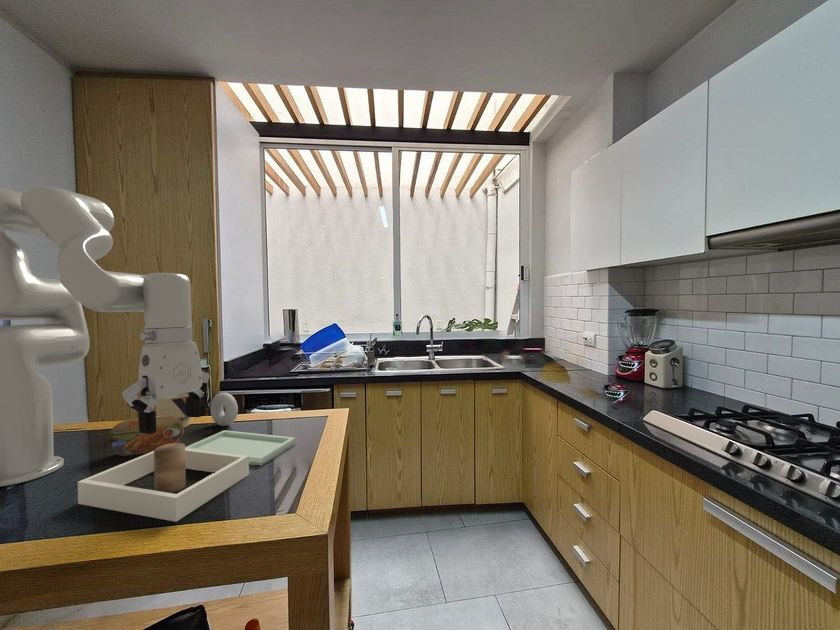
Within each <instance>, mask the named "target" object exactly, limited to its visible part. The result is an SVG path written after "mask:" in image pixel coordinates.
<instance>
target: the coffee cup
mask: <svg viewBox="0 0 840 630" xmlns="http://www.w3.org/2000/svg"><path fill="white" fill-rule="evenodd" d="M187 397H189V396H188V395H187V394H183V395H179V396H175V397H171V398H167V399H159V400H158V402H157V403H156V405H155V408H156V416H165V415H170V416H174V417H176V418H178V419H179V420H180V421H181V422H182V424H183V427H184V428H186V427H188V426H190V423H191V417H187V416H186V398H187Z"/></svg>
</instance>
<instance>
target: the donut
mask: <svg viewBox="0 0 840 630" xmlns="http://www.w3.org/2000/svg"><path fill="white" fill-rule="evenodd" d="M209 407H210V415H211V418H212V420H213V421H214V422H215V423H216V424H217V425H218V426H221V427H228V426H230V425H232V424H233V423H234V422H235V421H236V419H237V416H238V413H239V407H238V403H237V400H236V399H235V397H234V396H233V395H232V394H230V393H228V392H220V393H218V394H216V395H215V396H214V397H213V398H212V400H211V403H210V406H209Z"/></svg>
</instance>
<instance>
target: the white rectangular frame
mask: <svg viewBox="0 0 840 630" xmlns="http://www.w3.org/2000/svg"><path fill="white" fill-rule="evenodd" d="M186 469H187V470H194V471H203V472H207V473H208V472H210V473H211V474H209V475H208V476H206V477H204V478H203V479H201V480H199V481H197V482H194V484H192V485H190V486H189V487H187V488H185V489H183V490H180V491H178V492H177V493H167V492H160V491H155V489H154V490H153V489H148V488H147V489H146V488H141V487H135V486H128V485H127V484H129V483H131V482H134V481H136V480H139V479H141V478H143V477H144V476H146V475H149V474H151V473H154V451H152V452H150V453H144V454H143V455H140V456H138V457H135V458H134V459H133V458H132V459H131V460H128V461H125V462H124V463H121V464H118V465H116V466H114V467H110V468H108V469H106V470H104V471H101V472H99V473H96V474H94V475H91V476H89V477H87V478H83V479H81V480H79V481H77V504H78V505H83V506H89V507H94V508H99V509H105V510H111V511H117V512H121V513H127V514H131V515H137V516H142V517H143V516H144V517H148V518H149V517H150V518H154V519H158V520H165V521H169V522H170V521H171V522H175V523H176V522H178V521H180V520H181V519H183V518H184V517H186V516H187V515H189V514H191V513H193V512H194V511H195V510H197V509H198V508H200V507H201V506H203V505H204V504H206V503H208V502H209V501H210V500H213V498H215V497H217V496H218V495H220V494H221V493H223V492H224V491H226V490H228V489H229V488H231V487H232V486H234V485H236V484H237V483H238V482H240V481H241V480H243V479H245V478H247V476H249V474H250V465H249V456H245V455H237V454H228V453H220V452H212V451H204V450H195V449H187V448H185V470H186ZM214 472H215V473H214Z"/></svg>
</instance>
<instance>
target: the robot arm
mask: <svg viewBox="0 0 840 630" xmlns="http://www.w3.org/2000/svg"><path fill="white" fill-rule="evenodd" d="M114 224H115V217H114V213H113V212H112V210H111V209H110V207H109V206H108V205H107V204H106V203H104V202H103V201H101V200H100V199H97V198H95V197H92V196H88V195H85V194H81V193H78V192H74V191H71V190H67V189H64V188H60V187H56V186H49V185H35V186H31V187H30V188H27V189H26V190H24V192H19V191H16V190H13V189H7V188H2V187H0V320H1V321H2V320H3V321H25V320H27V321H28V320H29V321H30V320H43V322H44V323H42V324H39V323H38V324H37V323H36V324H35V323H34V324H32V323H31V324H12V325H4V326H3V325H2V326H0V488H1V487H6V486H12V485H13V486H14V485H17V484H21V483H22V484H23V483H24V482H25V483H26V482H29V481H33V480H36V479H39V478H42V477H44V476H47V475H49V474H51V473H53V472H56V471H58V470H59V469H60V468H62V467H63V466H64V463H65V460H64V458H63V457H61V456H60V455H59V456H58V455H54V451H55V450H54V410H53V409H54V407H53V406H54V405H53V401H54V399H53V397H54V396H53V388H52V384H51V383H50V381H49V380H48V378H46V377H45V376H44V375H43V373H41V372H40V370H39V369H40V368H41V369H42V368H48V367H54V366H60V365H61V366H63V365H68V364H73V363H76V362H78V361H81V360H83V359H84V358H85V357H86V356H87V355H88V353H89V351H90V345H91V343H90V341H91V340H90V334H89V329H88V325H87V321H86V317H85V313H84V308H83V306H84V307H85V308H87V309H89V310H91V311H94V312H100V313H125V312H126V313H128V312H129V313H143V320H144V321H143V323H144V332H142V333H140V334H139V338H140V340H141V341H144V344H145V345H142V348H141V351H140V357H139V364H138V375H137V376H138V380H137V381H136V382H134V383H133V384H131V385H130V386H128V387H127V388H126V389H124V390H123V391H121V396H122V397H123V399H124V401H125V403H126V404H127V407H129V408H131V409H133V412H135V413H138V414H137V419H138V422H139V432H140V433H145V434H153V433H155V432H156V416H157V411H155V410H153V409H154V408H155V407H156V403H157V402H158V400H159V399H167V398H171V397H175V396H179V395H183V394H187V395H188V396H189V397H187V398H186V416H187V417H190V418H201V416H202V401H201V400H202V399H201V398H203V396H204V392H205V390H206V389H207V387H208V382H209V379H210V376H211V375H210V373H209V372H206V371H203V370H202V363H201V356H200V351H199V349H198V345H197V342H196V341H193V327H192V326H193V322H192V319H193V318H192V293H191V281H190V280H191V279H190V278H189V277H188V276H187V275H185V274H182V273H176V272H175V273H173V272H152V273H148V274H138V273H131V272H130V273H128V272H118V271H108V270H104V269H103V268H102V267H100V266H99V265H98V264H97V262H96V261H97V260H100V259H102V258H103V257H104V256H106V255H108V253H109V252H110V251H112V248H113V245H114V240H113V235H112V234H111V233H110V232H111V231H112V230H113V228H114ZM6 231H8V232H13V233H19V234H26V235H33V236H36V237H37V236H38V237H43V238H48V239H49V240H50V242H51V243H52V244H53V245H54V246H55V247H56V248H57V250H59V251H58V254H57V256H56V262H55V263H56V264H55V267H56V274H57V277H58V278H50V277H37V276H36V275H35V274H33V272H32V270H31V265H30V261H29V257H28V254H26V251H24V249H23V248H22V247H21V246H20V244H18V243H17V242H16V241H15V240H14V239H13V238H11V237H10V236H9V235H8V234H7V233H6ZM138 394H139V396H140V398H139V397H138Z"/></svg>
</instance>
